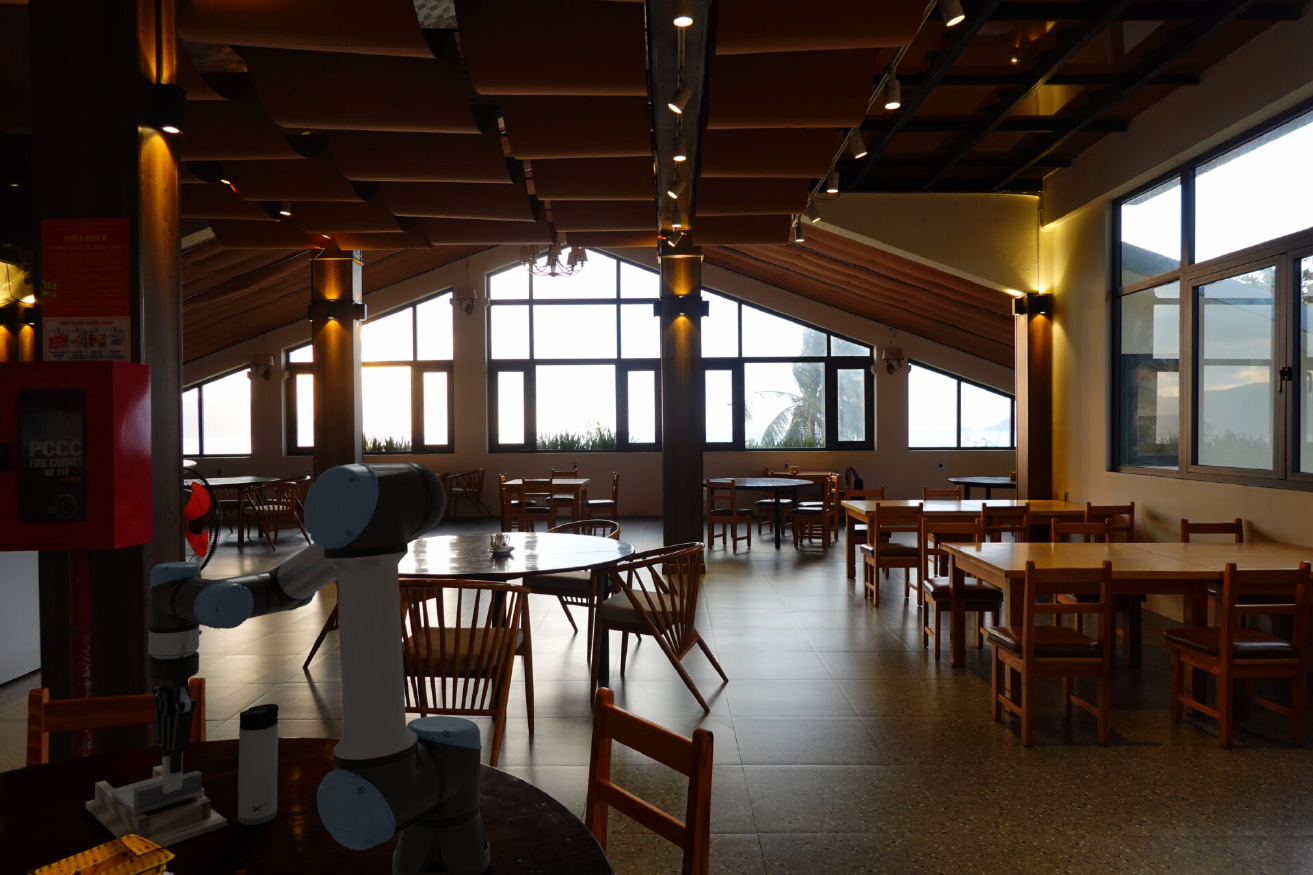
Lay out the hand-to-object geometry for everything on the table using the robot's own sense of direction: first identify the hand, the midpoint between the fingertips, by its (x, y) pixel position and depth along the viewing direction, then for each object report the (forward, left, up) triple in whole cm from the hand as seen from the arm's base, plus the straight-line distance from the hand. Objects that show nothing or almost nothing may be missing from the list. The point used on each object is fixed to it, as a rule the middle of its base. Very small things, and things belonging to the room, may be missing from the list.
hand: (172, 789), depth 141 cm
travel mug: (-6, -12, -7) cm, 15 cm away
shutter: (+7, 0, -3) cm, 7 cm away
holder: (+8, 0, -7) cm, 11 cm away
